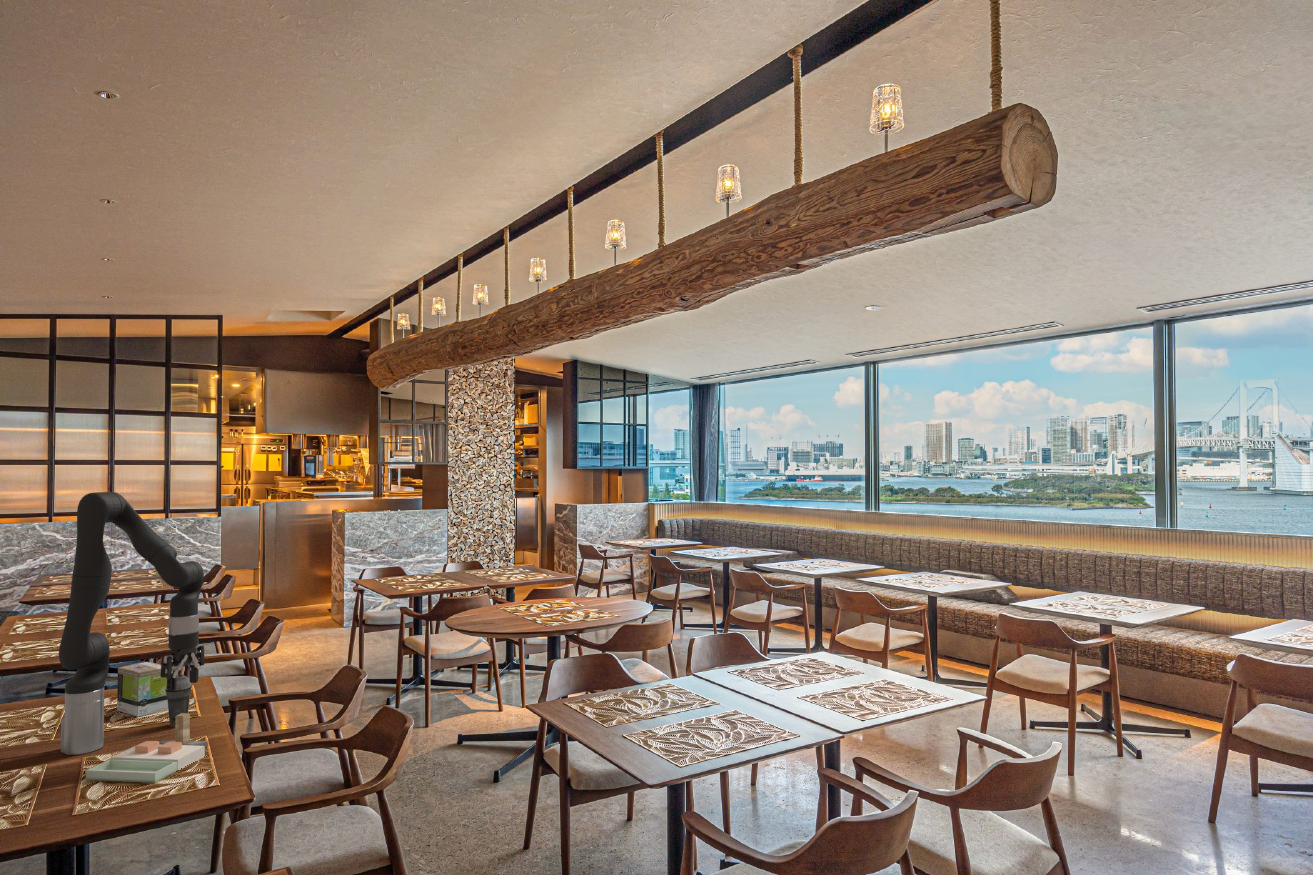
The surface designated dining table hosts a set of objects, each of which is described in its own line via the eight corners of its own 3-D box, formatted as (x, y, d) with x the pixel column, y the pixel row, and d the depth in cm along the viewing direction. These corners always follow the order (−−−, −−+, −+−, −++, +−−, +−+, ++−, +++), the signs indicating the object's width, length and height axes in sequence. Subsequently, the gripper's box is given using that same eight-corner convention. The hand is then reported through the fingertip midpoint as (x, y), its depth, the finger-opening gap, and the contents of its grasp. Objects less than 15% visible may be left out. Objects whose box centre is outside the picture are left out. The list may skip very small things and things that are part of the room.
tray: (85, 779, 197) (86, 770, 197) (110, 768, 204) (110, 759, 204) (155, 782, 194) (155, 772, 194) (177, 770, 202) (177, 761, 202)
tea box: (169, 709, 255) (170, 665, 256) (136, 717, 247) (137, 672, 247) (148, 702, 263) (148, 660, 264) (115, 710, 255) (116, 666, 255)
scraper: (157, 750, 218) (157, 715, 218) (163, 746, 220) (164, 712, 221) (201, 751, 216) (201, 716, 217) (207, 748, 219) (207, 713, 219)
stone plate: (111, 768, 205) (111, 756, 205) (140, 754, 214) (140, 743, 215) (177, 770, 202) (178, 759, 202) (204, 756, 212) (204, 745, 212)
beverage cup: (178, 729, 235) (179, 664, 236) (158, 728, 236) (159, 664, 237) (197, 721, 242) (198, 659, 243) (178, 720, 244) (178, 658, 244)
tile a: (134, 752, 208) (134, 745, 208) (146, 747, 212) (146, 740, 212) (147, 753, 207) (148, 746, 207) (159, 747, 211) (159, 741, 211)
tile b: (157, 753, 207) (157, 746, 207) (168, 747, 211) (169, 741, 211) (171, 753, 206) (171, 747, 206) (181, 748, 210) (182, 741, 210)
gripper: (190, 625, 227) (189, 679, 227) (152, 635, 213) (151, 693, 212) (212, 625, 226) (212, 680, 226) (177, 636, 212) (176, 694, 212)
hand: (182, 686), depth 219 cm, fingers open, 8 cm apart
